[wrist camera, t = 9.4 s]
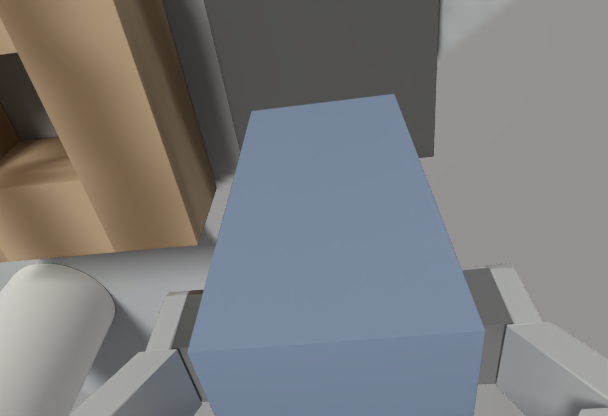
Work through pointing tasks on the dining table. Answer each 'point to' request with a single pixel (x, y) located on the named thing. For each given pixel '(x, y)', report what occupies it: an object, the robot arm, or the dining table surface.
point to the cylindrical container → (49, 338)
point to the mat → (328, 56)
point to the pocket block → (101, 134)
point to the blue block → (335, 275)
